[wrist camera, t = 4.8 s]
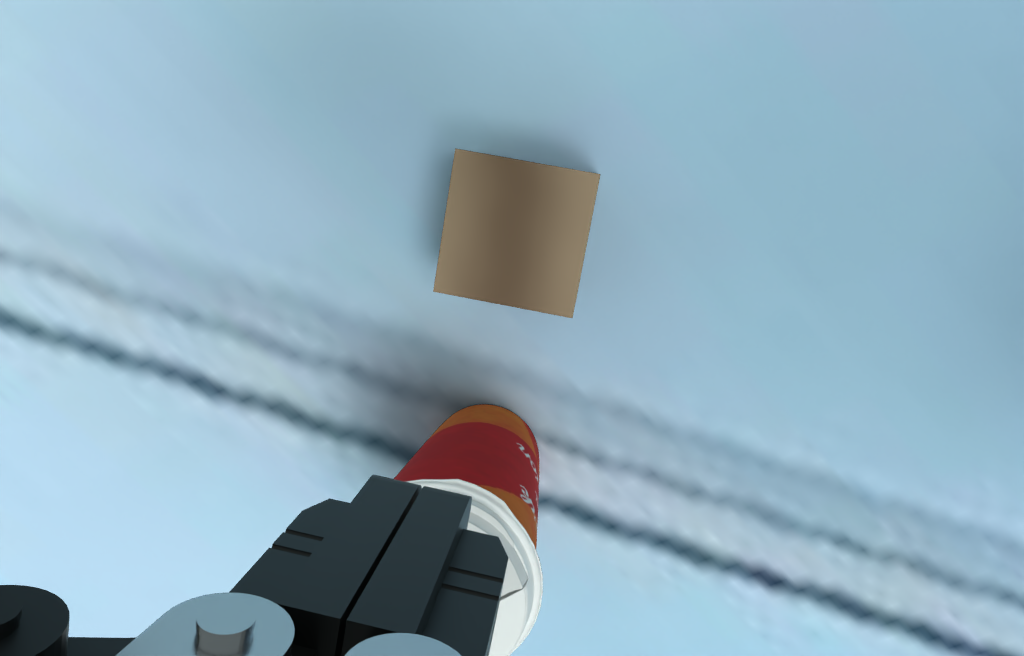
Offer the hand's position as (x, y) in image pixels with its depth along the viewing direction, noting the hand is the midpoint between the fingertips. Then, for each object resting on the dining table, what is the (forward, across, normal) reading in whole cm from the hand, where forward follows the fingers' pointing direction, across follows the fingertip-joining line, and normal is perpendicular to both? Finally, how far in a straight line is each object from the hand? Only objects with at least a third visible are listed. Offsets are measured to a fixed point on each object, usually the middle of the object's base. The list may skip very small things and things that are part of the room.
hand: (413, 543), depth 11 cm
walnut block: (+27, +1, -3) cm, 27 cm away
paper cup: (+27, +1, +9) cm, 29 cm away
